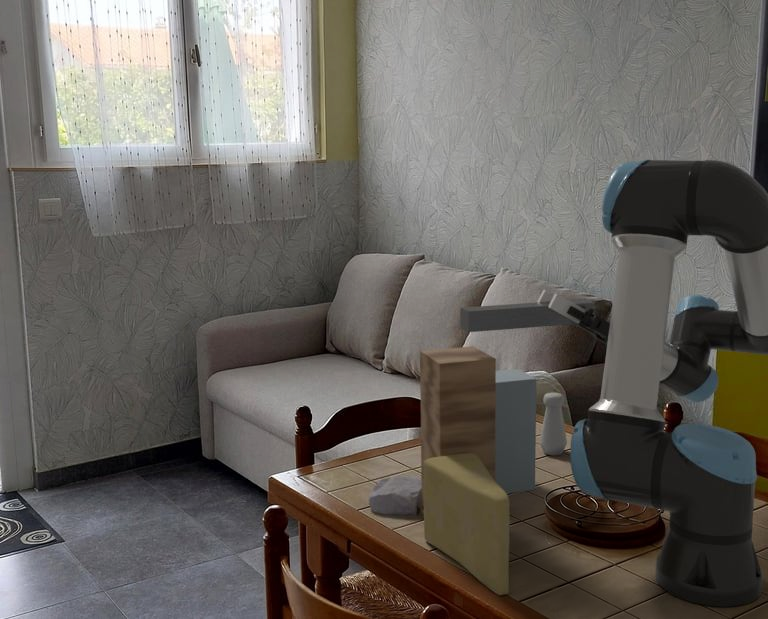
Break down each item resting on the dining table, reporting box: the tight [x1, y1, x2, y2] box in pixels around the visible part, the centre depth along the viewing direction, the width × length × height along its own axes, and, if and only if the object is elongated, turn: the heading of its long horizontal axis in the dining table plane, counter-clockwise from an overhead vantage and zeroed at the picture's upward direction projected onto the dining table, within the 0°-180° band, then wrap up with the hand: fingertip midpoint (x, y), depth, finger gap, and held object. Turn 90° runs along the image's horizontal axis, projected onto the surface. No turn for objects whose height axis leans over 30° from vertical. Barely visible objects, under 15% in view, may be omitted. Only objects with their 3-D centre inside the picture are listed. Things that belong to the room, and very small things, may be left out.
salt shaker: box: [538, 392, 568, 457], centre depth 193 cm, size 6×6×13 cm
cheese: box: [423, 453, 511, 596], centre depth 143 cm, size 22×10×15 cm, turn 18°
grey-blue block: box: [495, 368, 537, 495], centre depth 174 cm, size 8×14×22 cm, turn 107°
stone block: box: [368, 475, 422, 516], centre depth 169 cm, size 12×5×10 cm
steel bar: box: [459, 298, 596, 333], centre depth 158 cm, size 4×24×4 cm, turn 107°
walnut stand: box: [417, 345, 497, 519], centre depth 158 cm, size 11×11×30 cm
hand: (546, 298), depth 159 cm, fingers closed on steel bar, 4 cm apart
